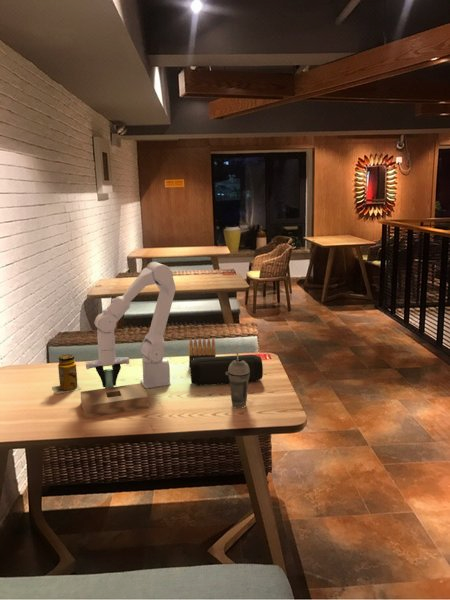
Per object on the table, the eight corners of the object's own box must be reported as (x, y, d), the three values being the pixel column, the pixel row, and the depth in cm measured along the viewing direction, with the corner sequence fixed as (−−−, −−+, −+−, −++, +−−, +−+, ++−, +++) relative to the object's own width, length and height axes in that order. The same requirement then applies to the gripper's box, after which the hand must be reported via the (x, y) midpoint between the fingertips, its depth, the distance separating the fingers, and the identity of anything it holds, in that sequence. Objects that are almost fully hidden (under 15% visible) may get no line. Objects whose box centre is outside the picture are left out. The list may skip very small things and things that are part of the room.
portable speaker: (192, 390, 174) (191, 363, 172) (190, 379, 184) (189, 354, 182) (263, 385, 178) (263, 359, 175) (257, 375, 187) (258, 350, 185)
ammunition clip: (189, 367, 196) (188, 338, 193) (189, 366, 198) (188, 337, 195) (216, 367, 196) (215, 338, 194) (216, 365, 198) (215, 336, 196)
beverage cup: (234, 412, 156) (234, 351, 152) (223, 403, 163) (223, 345, 158) (254, 407, 160) (254, 348, 155) (243, 399, 166) (243, 342, 162)
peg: (113, 389, 175) (112, 368, 173) (114, 392, 172) (113, 371, 171) (104, 391, 174) (103, 369, 172) (105, 394, 171) (104, 372, 170)
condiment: (81, 389, 176) (78, 357, 174) (57, 394, 172) (54, 361, 169) (75, 382, 182) (72, 351, 180) (51, 387, 178) (48, 356, 175)
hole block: (141, 394, 171) (140, 383, 170) (148, 407, 160) (147, 396, 159) (81, 403, 164) (80, 391, 164) (84, 418, 153) (83, 406, 153)
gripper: (126, 342, 176) (128, 378, 179) (83, 347, 171) (86, 384, 174) (129, 348, 169) (131, 385, 172) (85, 353, 165) (88, 391, 168)
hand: (109, 385), depth 173 cm, fingers closed on peg, 3 cm apart
